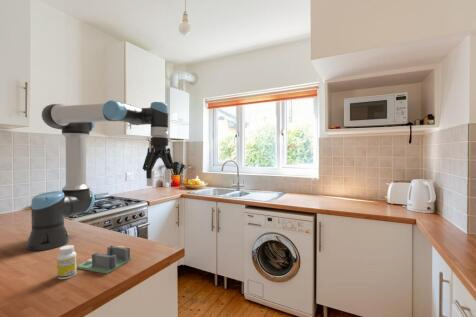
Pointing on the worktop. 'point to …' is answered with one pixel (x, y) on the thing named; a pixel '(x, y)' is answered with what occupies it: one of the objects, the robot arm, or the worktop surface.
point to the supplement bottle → (66, 262)
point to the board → (88, 266)
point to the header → (110, 257)
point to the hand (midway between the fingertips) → (159, 184)
